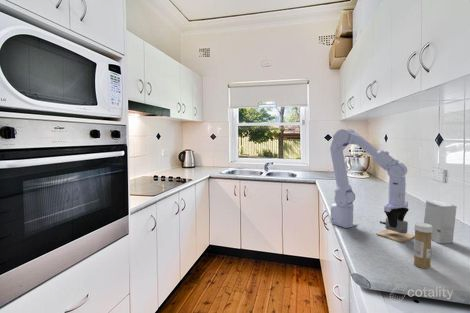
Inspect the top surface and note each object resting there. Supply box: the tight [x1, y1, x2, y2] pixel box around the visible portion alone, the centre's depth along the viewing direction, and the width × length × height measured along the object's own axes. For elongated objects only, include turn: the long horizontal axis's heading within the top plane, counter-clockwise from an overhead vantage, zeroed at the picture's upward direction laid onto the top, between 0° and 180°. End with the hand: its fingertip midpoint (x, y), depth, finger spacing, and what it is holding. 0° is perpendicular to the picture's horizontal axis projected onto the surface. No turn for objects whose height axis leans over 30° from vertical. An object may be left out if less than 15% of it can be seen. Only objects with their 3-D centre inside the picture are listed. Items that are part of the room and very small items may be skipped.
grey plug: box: [379, 217, 409, 234], centre depth 106 cm, size 10×4×4 cm, turn 32°
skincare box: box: [423, 199, 457, 244], centre depth 101 cm, size 8×6×15 cm
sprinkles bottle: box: [413, 221, 432, 270], centre depth 82 cm, size 5×5×13 cm
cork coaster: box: [376, 229, 415, 244], centre depth 106 cm, size 10×10×1 cm
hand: (395, 225), depth 106 cm, fingers closed on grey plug, 4 cm apart
